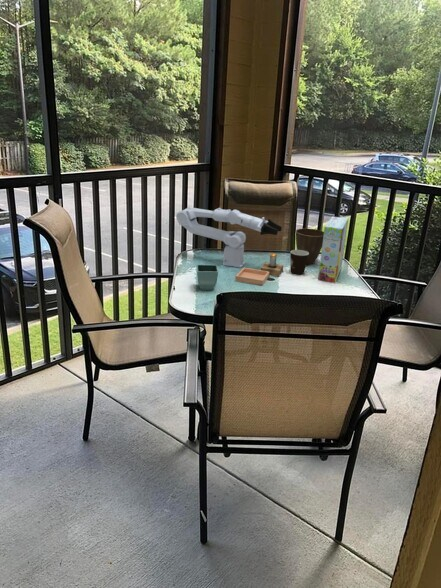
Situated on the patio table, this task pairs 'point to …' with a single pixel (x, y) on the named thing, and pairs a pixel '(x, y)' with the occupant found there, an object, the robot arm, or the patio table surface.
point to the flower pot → (207, 276)
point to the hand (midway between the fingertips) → (279, 230)
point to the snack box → (333, 249)
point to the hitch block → (273, 269)
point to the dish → (252, 276)
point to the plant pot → (309, 243)
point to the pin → (272, 260)
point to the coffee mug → (298, 261)
